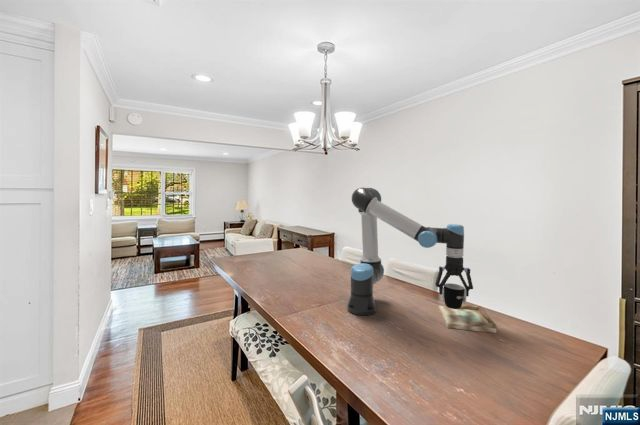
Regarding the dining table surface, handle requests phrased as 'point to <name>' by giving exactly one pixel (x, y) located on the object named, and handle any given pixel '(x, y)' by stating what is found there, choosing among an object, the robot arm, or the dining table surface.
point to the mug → (453, 295)
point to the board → (468, 318)
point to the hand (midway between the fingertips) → (453, 301)
